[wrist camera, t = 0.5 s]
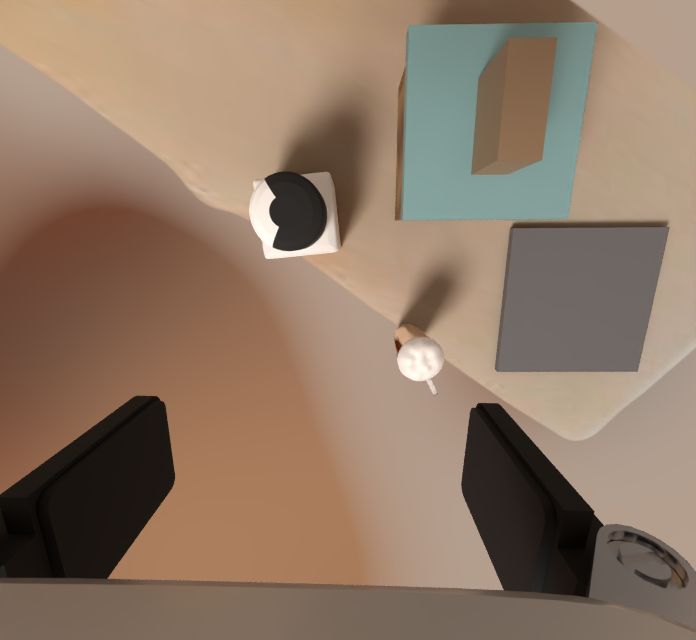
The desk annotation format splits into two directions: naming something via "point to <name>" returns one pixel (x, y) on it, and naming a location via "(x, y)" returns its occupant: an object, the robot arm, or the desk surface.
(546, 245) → the desk mat
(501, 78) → the lid
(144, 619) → the robot arm
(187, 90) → the desk surface
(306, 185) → the medicine bottle
